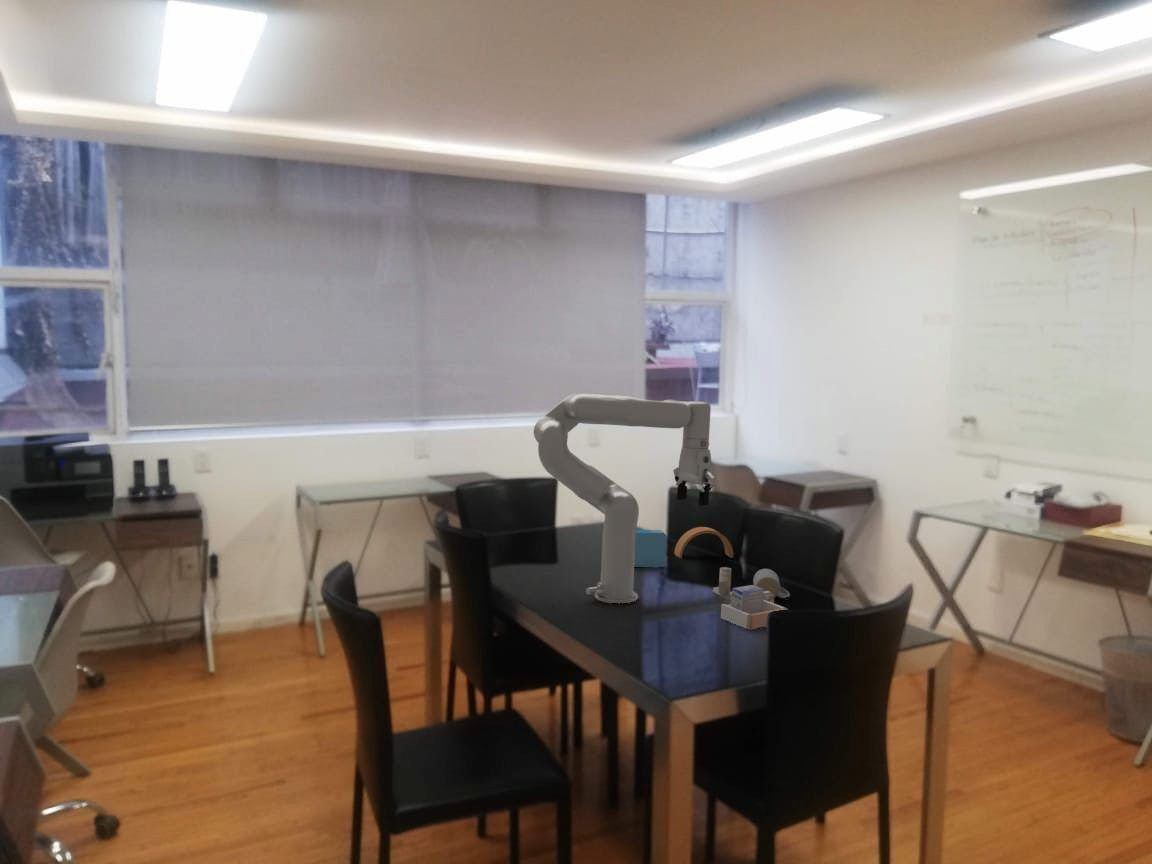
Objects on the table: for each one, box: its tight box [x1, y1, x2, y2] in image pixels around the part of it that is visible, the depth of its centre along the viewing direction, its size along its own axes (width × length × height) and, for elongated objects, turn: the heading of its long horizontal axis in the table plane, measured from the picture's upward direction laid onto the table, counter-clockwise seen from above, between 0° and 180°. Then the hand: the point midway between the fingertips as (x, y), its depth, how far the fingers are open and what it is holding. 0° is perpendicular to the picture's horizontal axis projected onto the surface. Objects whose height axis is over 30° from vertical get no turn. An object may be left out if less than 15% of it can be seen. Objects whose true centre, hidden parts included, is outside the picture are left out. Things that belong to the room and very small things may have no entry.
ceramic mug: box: [752, 568, 791, 599], centre depth 261 cm, size 11×8×8 cm
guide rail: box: [712, 586, 732, 596], centre depth 255 cm, size 2×20×2 cm, turn 33°
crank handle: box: [718, 566, 775, 606], centre depth 246 cm, size 16×11×11 cm
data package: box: [634, 529, 668, 568], centre depth 290 cm, size 12×4×12 cm, turn 97°
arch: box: [673, 526, 734, 559], centre depth 308 cm, size 6×20×10 cm, turn 101°
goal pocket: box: [720, 600, 789, 629], centre depth 237 cm, size 14×11×4 cm
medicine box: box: [730, 584, 764, 614], centre depth 239 cm, size 8×4×9 cm, turn 123°
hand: (692, 502), depth 255 cm, fingers open, 9 cm apart
